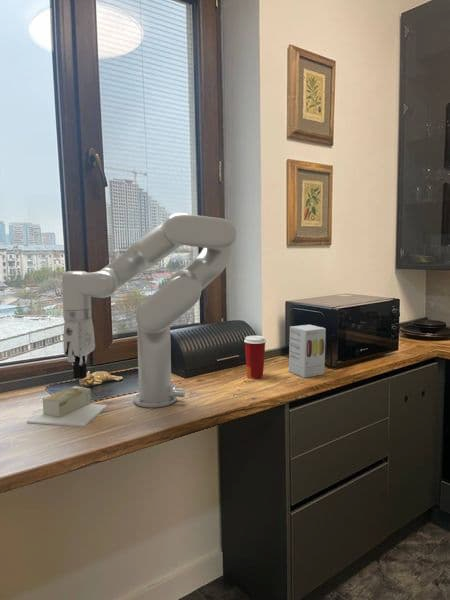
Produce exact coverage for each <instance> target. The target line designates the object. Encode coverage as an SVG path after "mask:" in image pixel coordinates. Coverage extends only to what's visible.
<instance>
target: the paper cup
mask: <svg viewBox="0 0 450 600" xmlns="http://www.w3.org/2000/svg"><path fill="white" fill-rule="evenodd" d="M243 342H244V348H245V350H244V351H245V365H246V368H245V369H246V377H247V378H248V379H252V380H258V379H259V380H261V379H262V378H263V377H264V368H265V367H264V364H265V353H266V352H265V351H266V343H267V340H266V338H265V336H263V335H247V336H245V338H244V340H243Z"/></svg>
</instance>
